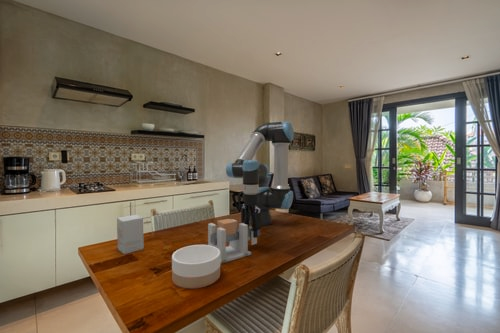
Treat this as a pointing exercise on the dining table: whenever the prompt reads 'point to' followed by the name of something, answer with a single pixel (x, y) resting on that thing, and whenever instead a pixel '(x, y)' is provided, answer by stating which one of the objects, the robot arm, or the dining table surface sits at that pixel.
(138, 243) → the supplement box
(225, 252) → the bracket
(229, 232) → the block
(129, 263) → the dining table surface
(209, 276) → the bowl
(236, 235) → the shaft
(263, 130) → the robot arm
